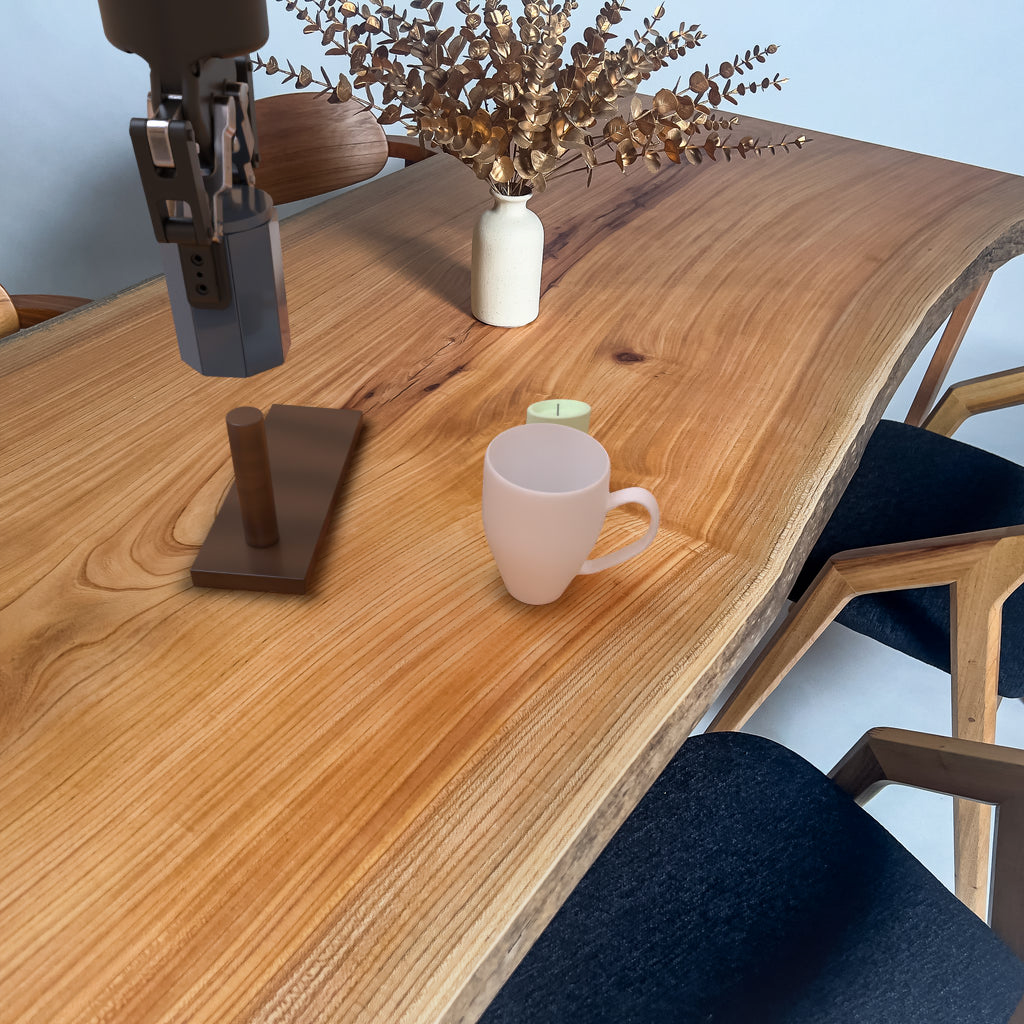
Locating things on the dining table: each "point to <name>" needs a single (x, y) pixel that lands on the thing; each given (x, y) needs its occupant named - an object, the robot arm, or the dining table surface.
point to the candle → (561, 413)
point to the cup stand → (278, 497)
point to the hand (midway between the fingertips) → (225, 278)
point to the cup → (236, 294)
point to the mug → (551, 508)
